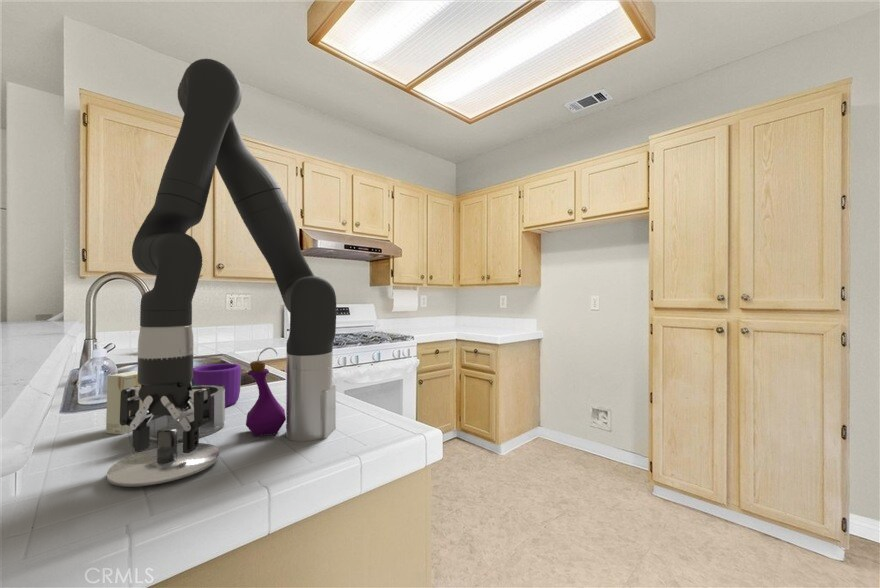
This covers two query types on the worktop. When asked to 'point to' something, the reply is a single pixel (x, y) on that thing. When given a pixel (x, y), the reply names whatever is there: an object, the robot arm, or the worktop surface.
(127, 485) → the lid
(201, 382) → the mug
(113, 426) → the skincare box
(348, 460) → the worktop surface
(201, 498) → the worktop surface
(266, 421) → the perfume bottle
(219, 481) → the worktop surface
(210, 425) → the pot
